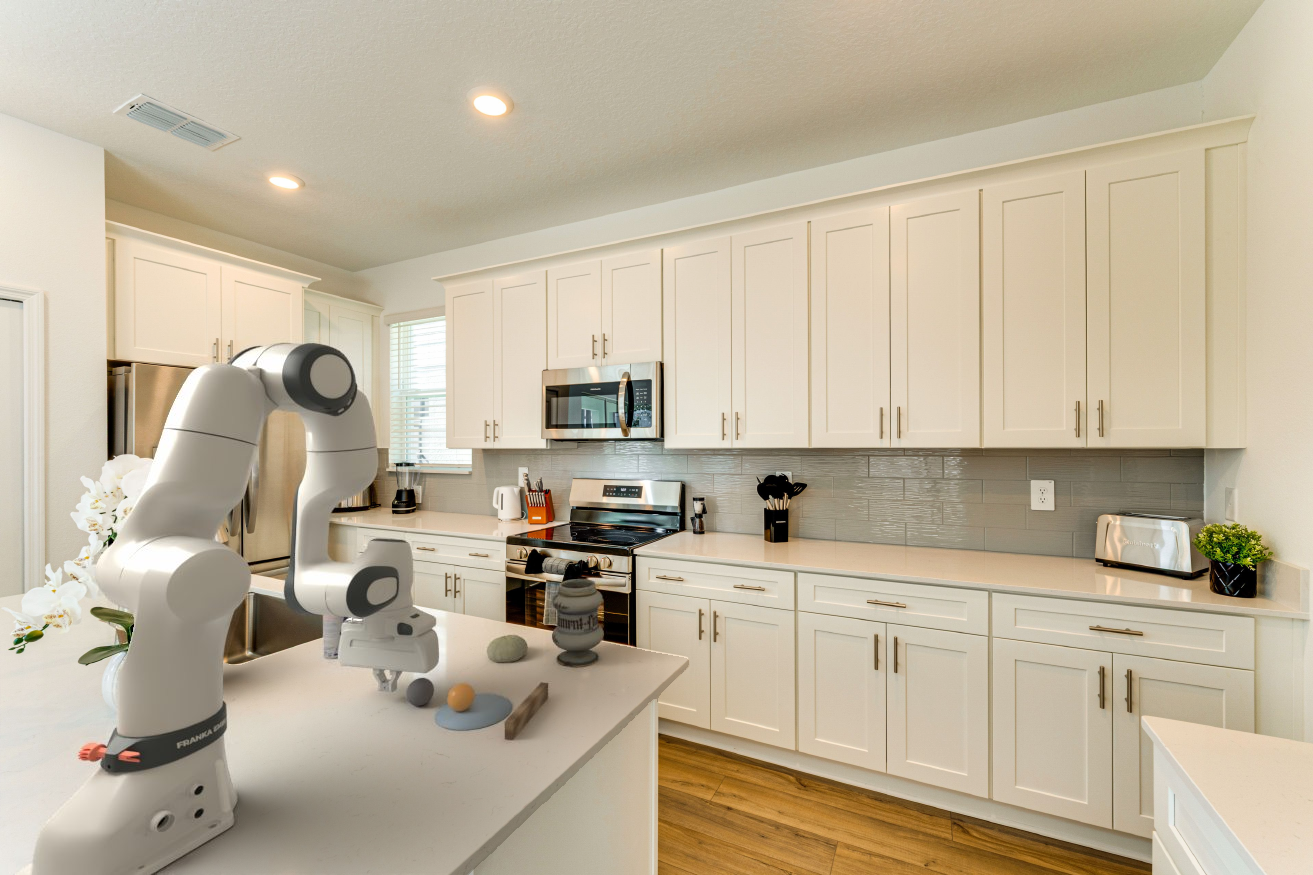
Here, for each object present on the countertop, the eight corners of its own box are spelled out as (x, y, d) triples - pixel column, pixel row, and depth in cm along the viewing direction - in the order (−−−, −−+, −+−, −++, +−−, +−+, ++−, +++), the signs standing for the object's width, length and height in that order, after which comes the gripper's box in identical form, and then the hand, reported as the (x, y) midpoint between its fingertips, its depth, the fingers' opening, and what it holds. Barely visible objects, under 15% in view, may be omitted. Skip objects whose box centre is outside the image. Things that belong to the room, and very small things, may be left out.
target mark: (490, 733, 99) (490, 732, 99) (419, 725, 102) (419, 724, 102) (524, 697, 113) (524, 696, 113) (460, 691, 116) (460, 690, 116)
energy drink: (353, 651, 138) (353, 602, 138) (338, 659, 133) (338, 608, 133) (332, 650, 138) (332, 601, 138) (317, 658, 133) (317, 608, 133)
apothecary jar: (543, 666, 129) (543, 587, 128) (564, 647, 140) (564, 575, 140) (593, 671, 126) (593, 591, 126) (610, 651, 137) (610, 578, 137)
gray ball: (403, 682, 108) (399, 706, 108) (427, 688, 108) (423, 713, 108) (417, 670, 113) (413, 694, 113) (440, 676, 112) (436, 700, 113)
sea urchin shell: (480, 646, 136) (504, 619, 139) (504, 665, 139) (527, 639, 141) (486, 659, 128) (511, 631, 130) (511, 679, 130) (535, 651, 133)
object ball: (440, 712, 106) (464, 719, 105) (443, 687, 106) (467, 693, 105) (455, 700, 111) (478, 706, 110) (458, 675, 111) (481, 681, 110)
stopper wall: (512, 739, 97) (512, 722, 97) (504, 738, 98) (504, 721, 98) (548, 697, 113) (548, 682, 113) (541, 696, 113) (541, 682, 113)
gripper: (330, 621, 110) (329, 692, 110) (425, 628, 106) (424, 702, 106) (353, 611, 116) (352, 679, 116) (443, 618, 112) (443, 688, 112)
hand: (387, 690), depth 111 cm, fingers closed
